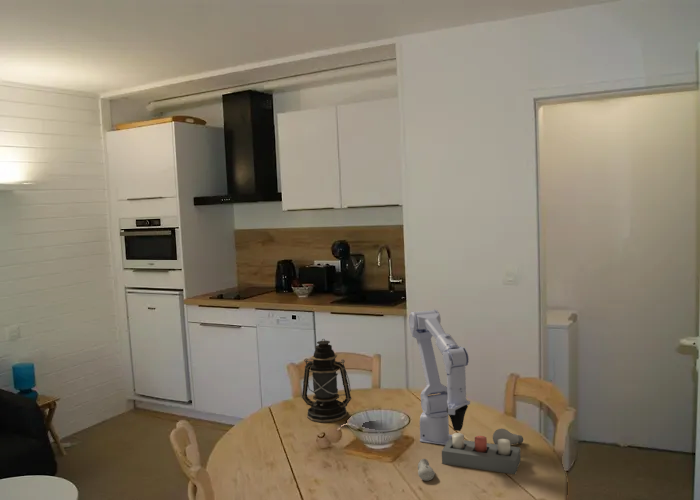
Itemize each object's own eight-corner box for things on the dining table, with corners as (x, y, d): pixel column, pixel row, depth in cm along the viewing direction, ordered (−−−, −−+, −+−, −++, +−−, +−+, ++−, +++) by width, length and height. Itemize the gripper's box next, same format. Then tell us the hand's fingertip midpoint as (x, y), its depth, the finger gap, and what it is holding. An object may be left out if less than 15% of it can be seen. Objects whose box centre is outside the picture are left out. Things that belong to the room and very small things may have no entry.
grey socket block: (442, 463, 177) (441, 450, 177) (450, 450, 186) (450, 438, 186) (515, 474, 168) (515, 461, 168) (520, 460, 177) (520, 447, 177)
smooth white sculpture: (433, 486, 166) (416, 481, 166) (432, 473, 174) (415, 468, 174) (437, 473, 165) (420, 468, 165) (436, 460, 173) (419, 455, 173)
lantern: (295, 421, 218) (291, 343, 215) (308, 406, 233) (304, 334, 231) (347, 424, 213) (343, 344, 210) (357, 408, 228) (353, 334, 226)
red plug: (473, 451, 176) (473, 439, 176) (476, 446, 179) (476, 435, 179) (485, 453, 174) (485, 441, 174) (488, 448, 178) (487, 436, 177)
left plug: (451, 448, 179) (450, 436, 179) (454, 443, 182) (453, 432, 182) (462, 449, 177) (462, 438, 177) (465, 445, 181) (465, 433, 180)
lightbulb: (530, 436, 186) (502, 435, 182) (525, 453, 187) (496, 451, 183) (520, 426, 191) (492, 424, 188) (515, 442, 193) (487, 440, 189)
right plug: (497, 454, 173) (496, 442, 173) (499, 449, 176) (498, 438, 176) (509, 456, 171) (508, 444, 171) (511, 451, 175) (510, 439, 174)
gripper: (463, 395, 170) (465, 440, 171) (474, 380, 183) (475, 422, 184) (440, 393, 173) (442, 437, 174) (452, 379, 186) (454, 419, 187)
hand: (457, 429), depth 179 cm, fingers closed
